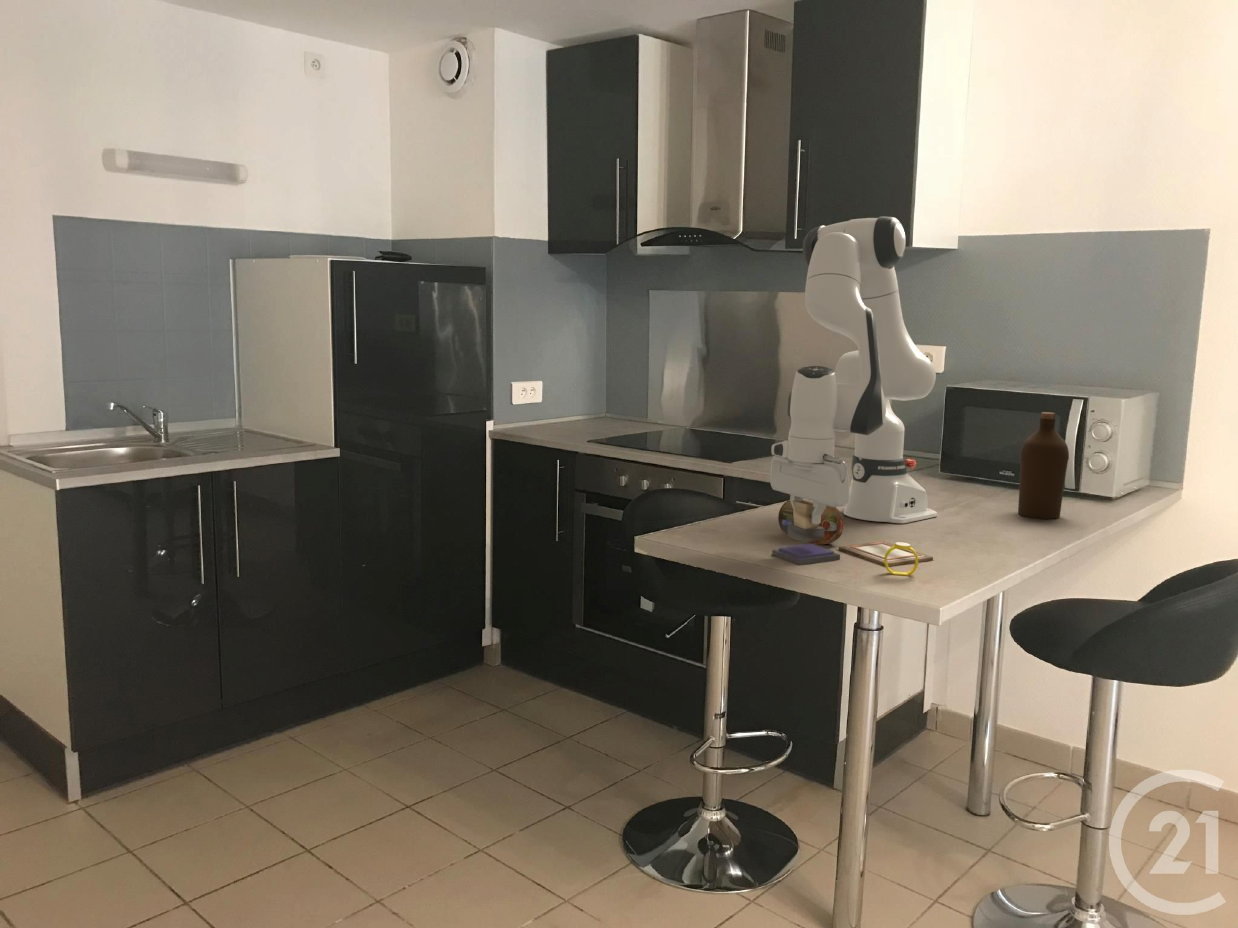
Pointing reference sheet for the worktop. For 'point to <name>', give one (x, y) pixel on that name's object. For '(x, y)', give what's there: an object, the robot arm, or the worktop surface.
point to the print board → (878, 551)
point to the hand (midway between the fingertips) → (806, 520)
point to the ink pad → (805, 554)
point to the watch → (901, 546)
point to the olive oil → (1043, 471)
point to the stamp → (804, 523)
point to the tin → (829, 522)
